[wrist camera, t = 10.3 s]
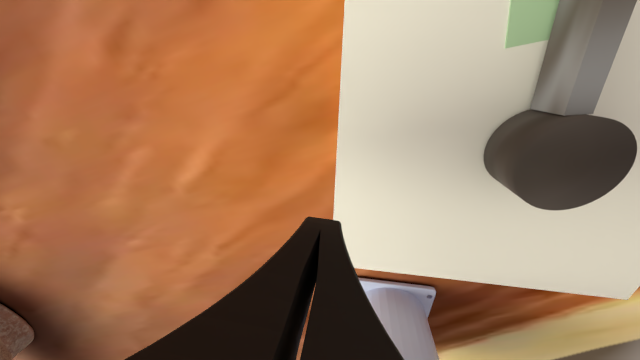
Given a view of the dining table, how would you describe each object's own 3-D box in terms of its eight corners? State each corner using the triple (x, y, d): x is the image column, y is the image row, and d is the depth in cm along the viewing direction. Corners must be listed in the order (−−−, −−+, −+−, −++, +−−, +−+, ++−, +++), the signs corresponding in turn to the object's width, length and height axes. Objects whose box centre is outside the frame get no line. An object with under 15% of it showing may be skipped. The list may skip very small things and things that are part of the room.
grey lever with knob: (560, 183, 15) (610, 210, 12) (476, 185, 16) (504, 210, 13) (679, -130, 9) (829, -224, 6) (537, -102, 10) (611, -173, 7)
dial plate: (614, 289, 19) (628, 301, 18) (331, 257, 22) (330, 265, 21) (965, -137, 9) (1041, -164, 8) (350, -97, 12) (350, -113, 11)
